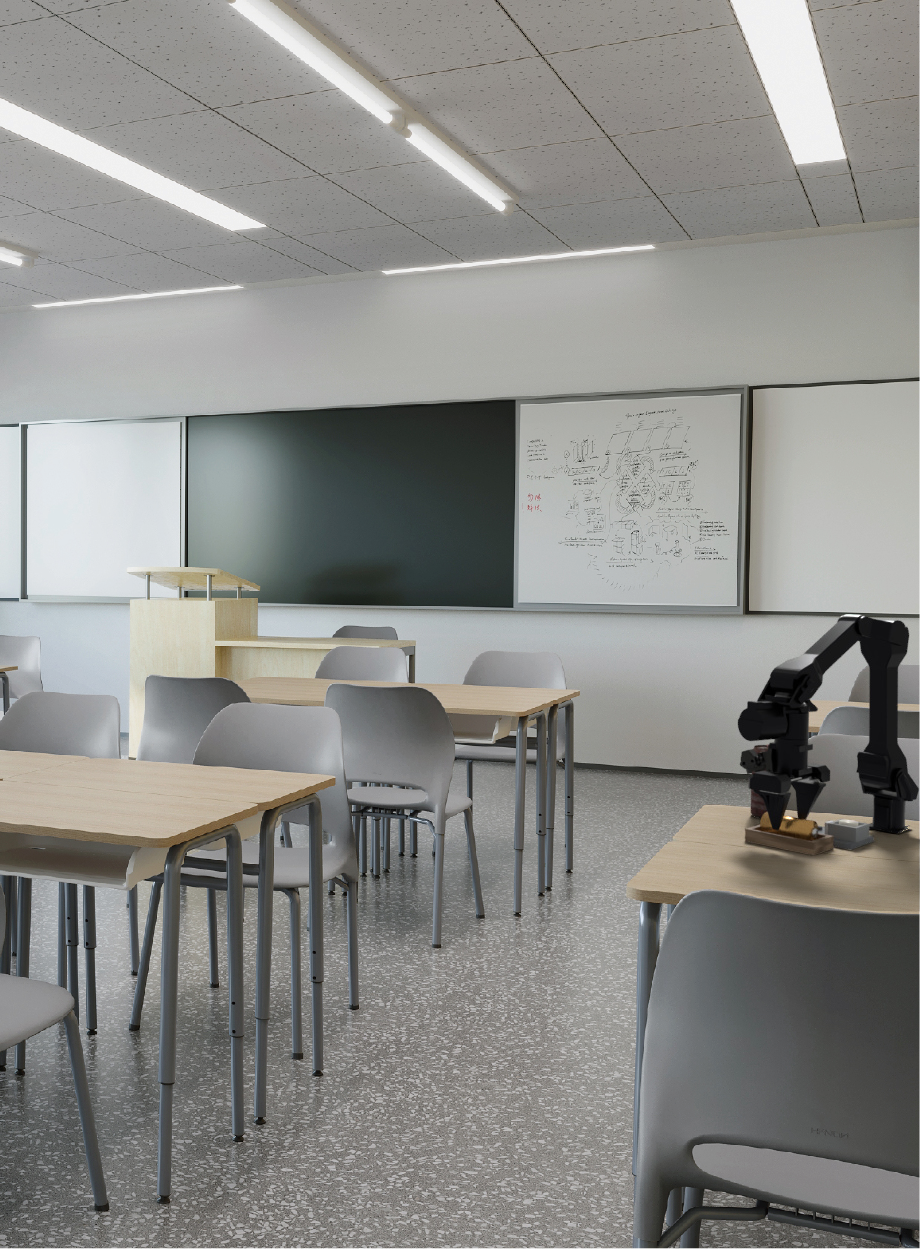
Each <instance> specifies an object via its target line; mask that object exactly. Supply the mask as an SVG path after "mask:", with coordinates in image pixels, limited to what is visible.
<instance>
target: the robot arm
mask: <svg viewBox="0 0 920 1249" xmlns="http://www.w3.org/2000/svg"><path fill="white" fill-rule="evenodd" d="M909 640H910V631H909V628H908V626H906V624H905V623H904V622H903V621H902V620H899V619H880V618H879V619H876V618H872V617H869V616H866V615H865V614H843V615H841V616H839V618H838V619H837V621H836V623H835V624H834V625H833V626H831V628H830V629H828V631H826V633H824V634H823V635H822V636H821V637H820V638H819V639H818V640H817V641H816V642H814V644H813V645H811V646H810V647H808V649H807V650H806V651H804V652H803V653H802V654H800V655H799V656H796V657H793V658H791V659H787V660H785V661H784V662H782V663H780V664H779V665H777V666H776V667H774V668H773V670H772V671H771V672H770V674H769V678H768V680H767V681H766V684H765V685H764V687H763V689H762V690H761V692H760V695H759V697H758V698H757V700H749V701H747V706H746V708H745V709H743V710H742V711H741V713H740V714H739V717H738V719H737V728H738V731H739V734H740V735H741V737H742V739H745V740H746V741H748V742H755V741H756V742H757V741H767V740H774V741H771V742H769V744H767V745H768V751H765V752H761V753H756V752H755V750H754V749H753V748H752V749H746V750H743V751H741V752H740V754H741V755H740V762H739V765H740V767H741V768H743V769H744V770H745V772H746V774H747V775H750V776H748V787H747V788H748V789H749V790H751V789H752V790H753V792H754V793H757V794H758V795H759V796H760V797H761V798H762V799H763V801H764V803H765V806H766V809H767V812H768V816H769V819H770V822H771V826H772V829H774V830H779V828H780V826H781V823H782V820H783V817H784V816H785V814H786V810H787V807H788V805H789V801H790V798H791V795H792V792H790V790H791V787H792V788H793V789H794V790H795V801H796V813H797V818H801V819H806V820H808V819H807V818H808V817H809V814H810V813H811V811H812V809H813V808H814V805H815V803H816V801H817V800H818V799H819V796H820V795H821V793H822V791H823V789H824V788H825V787H826V786H827V782H830V781H831V770H830V769H829V767H828V766H827V765H826V764H819V763H814V762H808V760H809V751H813V748H814V747H813V746H814V743H809V733H810V732H809V731H810V730H809V726H810V713H813V712H815V713H816V712H818V710H819V708H818V707H817V706H816V704H814V703H813V702H812V701H811V699H812V698H813V697H814V695H816V693H817V691H818V690H819V689H820V687H821V686H822V685H823V679H824V674H826V672H827V671H828V670H829V669H830V668H831V667H832V666H833V665H835V663H837V662H838V661H839V660H840V659H841V658H842V657H843V656H844V655H845V654H846V653H847V652H848V651H849V650H850V649H852V647H853V646H854V645H856V644H857V643H858V642H859V646H860V649H859V650H860V653H861V654H862V657H863V658H864V659H865V662H866V663H867V666H868V668H869V669H868V670H869V681H868V682H869V683H868V684H869V686H868V689H869V692H868V693H869V694H868V696H869V698H868V699H869V700H868V701H869V702H868V704H869V705H868V706H869V707H868V708H869V709H868V710H869V711H868V712H869V713H868V714H869V715H868V716H869V718H868V726H869V728H868V743H867V745H866V746H865V747H864V749H863V751H858V752H857V755H856V758H857V759H856V760H857V768H856V773H858V778H859V781H860V785H861V786H860V787H861V790H862V794H863V795H864V794H865V795H870V796H871V795H872V799H873V800H872V819H871V820H872V821H871V822H870V823H868V824H869V830H870V829H871V830H876V831H880V832H888V833H891V834H901V832H902V831H903V830H906V829H908V828H907V827H908V826H909V825H908V826H905V825H906V808H907V807H906V802H913V801H915V800H917V799H918V794H919V791H920V788H919V787H918V785H917V784H916V782H915V781H914V779H913V778H912V777H911V775H910V774H909V771H908V770H909V769H908V761H907V757H906V756H905V754H904V751H903V750H902V749H901V747H900V745H899V743H898V741H899V740H898V737H899V736H898V735H899V734H898V731H899V729H898V725H899V722H898V720H899V718H898V717H899V712H898V711H899V710H898V708H899V666H900V665H901V663H902V662H903V660H904V659H905V657H906V656H907V654H908V649H909ZM764 770H766V771H764ZM759 771H760V772H759ZM753 772H755V773H753ZM752 773H753V774H752ZM902 833H903V832H902Z"/></svg>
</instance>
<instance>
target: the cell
mask: <svg viewBox="0 0 920 1249" xmlns="http://www.w3.org/2000/svg"><path fill="white" fill-rule="evenodd" d="M759 823H760V824H759V825H760V830H761V831H764V832H769V833H774V834H779V835H784V836H789V837H794V838H799V839H804V840H809V841H813V840H816V839H817V837H818V826H819V824H818V822H817V821H816V820H812V819H811V820H810V819H801V818H798V817H796V816H789V815H784V817H783V820H782V823H781V826H780V828H779V830H774V829H772V826H771V822H770V819H769V816H768V812H766V813H764V814H763V816H762V818H761V819H760V822H759Z"/></svg>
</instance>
